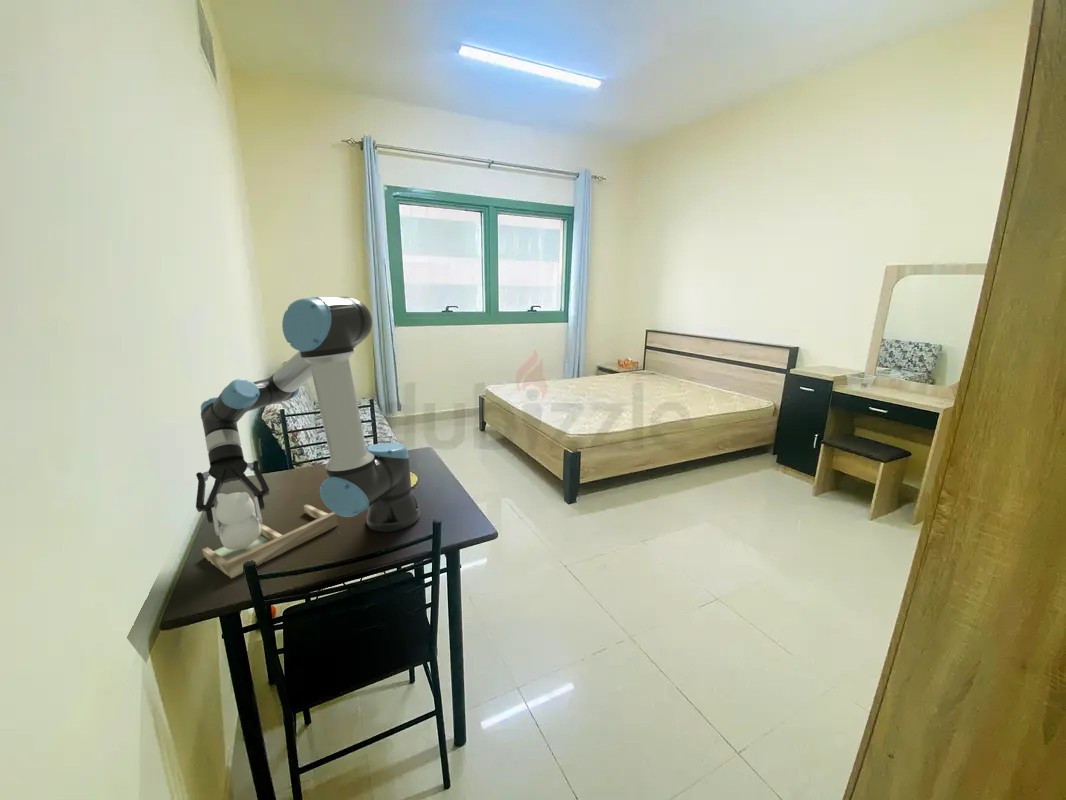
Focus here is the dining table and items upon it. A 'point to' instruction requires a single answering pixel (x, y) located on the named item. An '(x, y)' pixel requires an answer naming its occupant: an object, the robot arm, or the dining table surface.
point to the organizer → (270, 543)
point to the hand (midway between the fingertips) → (239, 527)
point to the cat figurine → (237, 520)
